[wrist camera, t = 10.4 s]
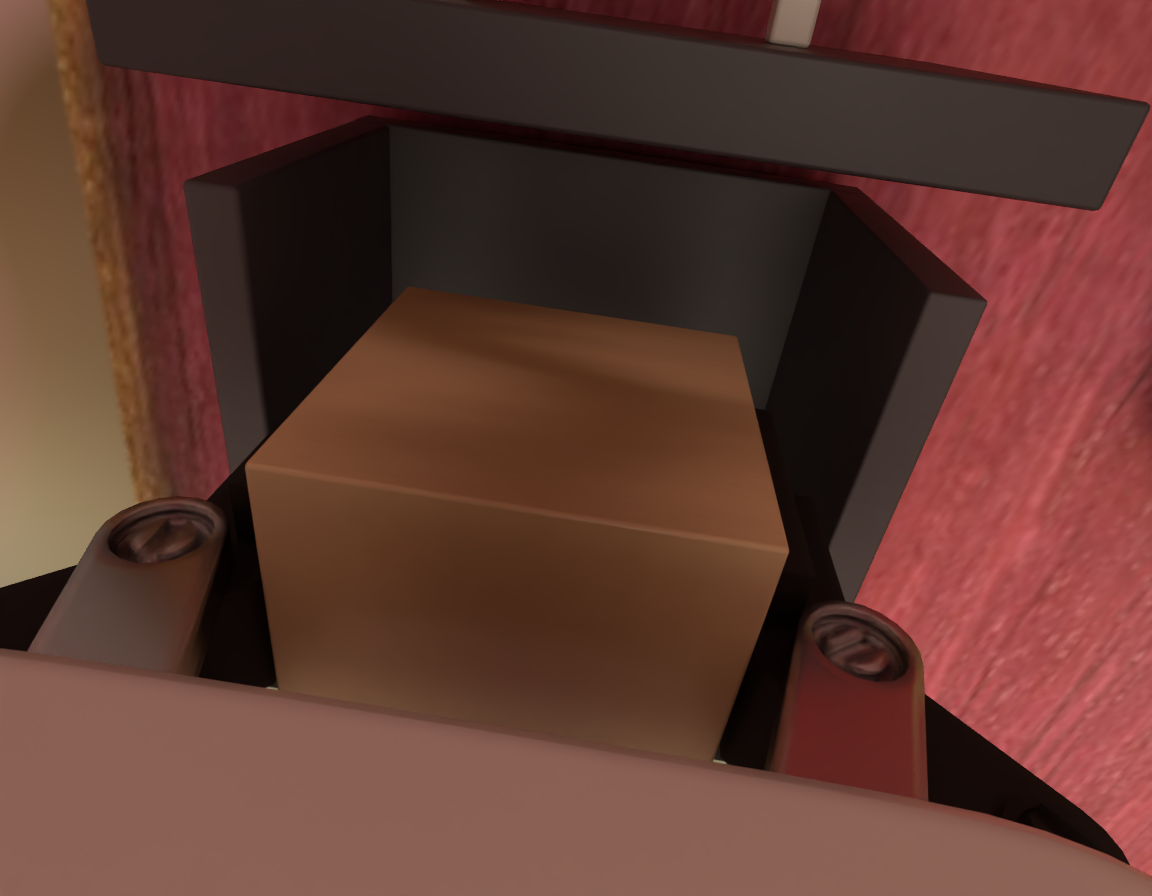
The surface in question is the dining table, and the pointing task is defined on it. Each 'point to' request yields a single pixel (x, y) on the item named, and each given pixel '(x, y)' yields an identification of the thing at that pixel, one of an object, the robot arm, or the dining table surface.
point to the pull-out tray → (615, 203)
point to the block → (523, 524)
